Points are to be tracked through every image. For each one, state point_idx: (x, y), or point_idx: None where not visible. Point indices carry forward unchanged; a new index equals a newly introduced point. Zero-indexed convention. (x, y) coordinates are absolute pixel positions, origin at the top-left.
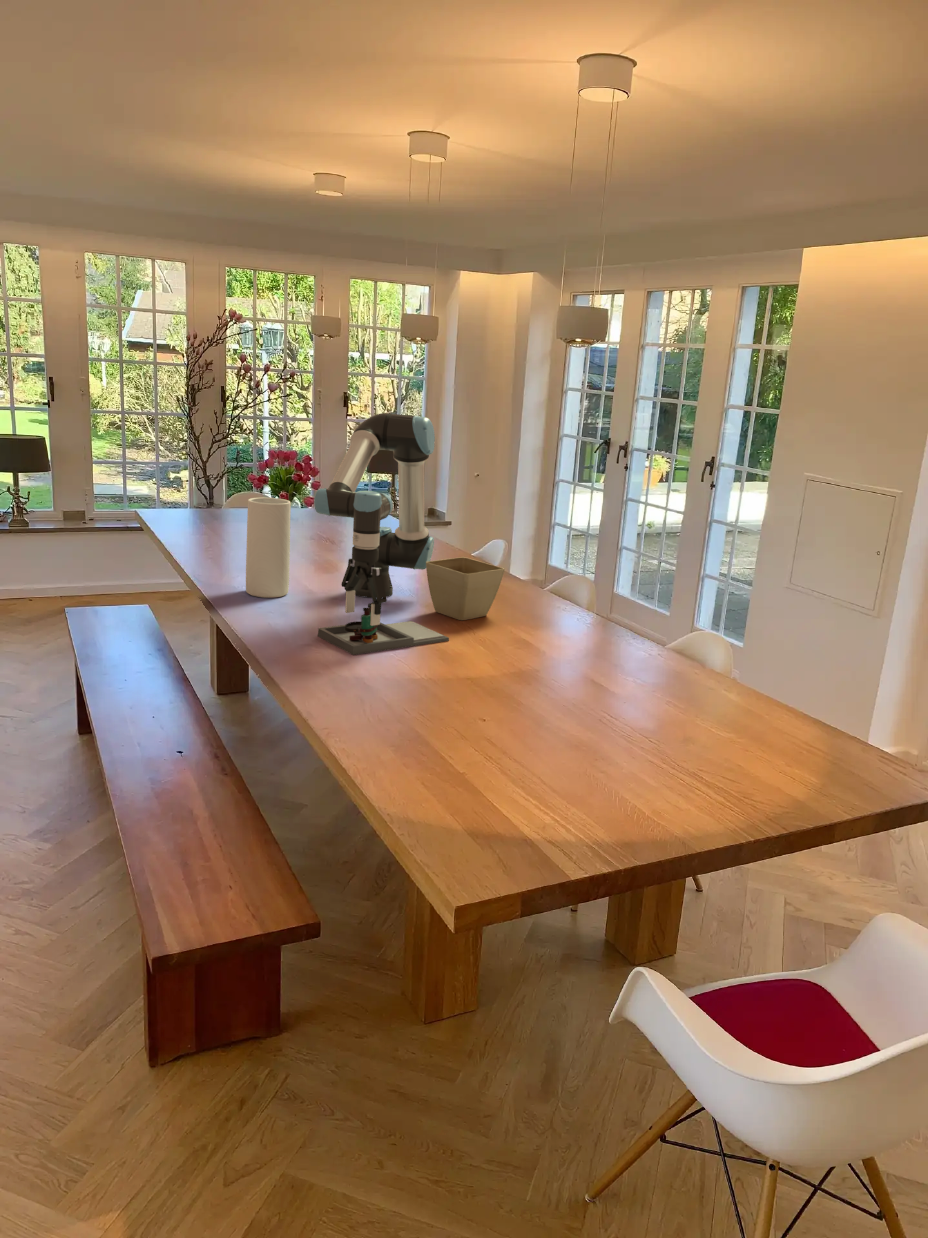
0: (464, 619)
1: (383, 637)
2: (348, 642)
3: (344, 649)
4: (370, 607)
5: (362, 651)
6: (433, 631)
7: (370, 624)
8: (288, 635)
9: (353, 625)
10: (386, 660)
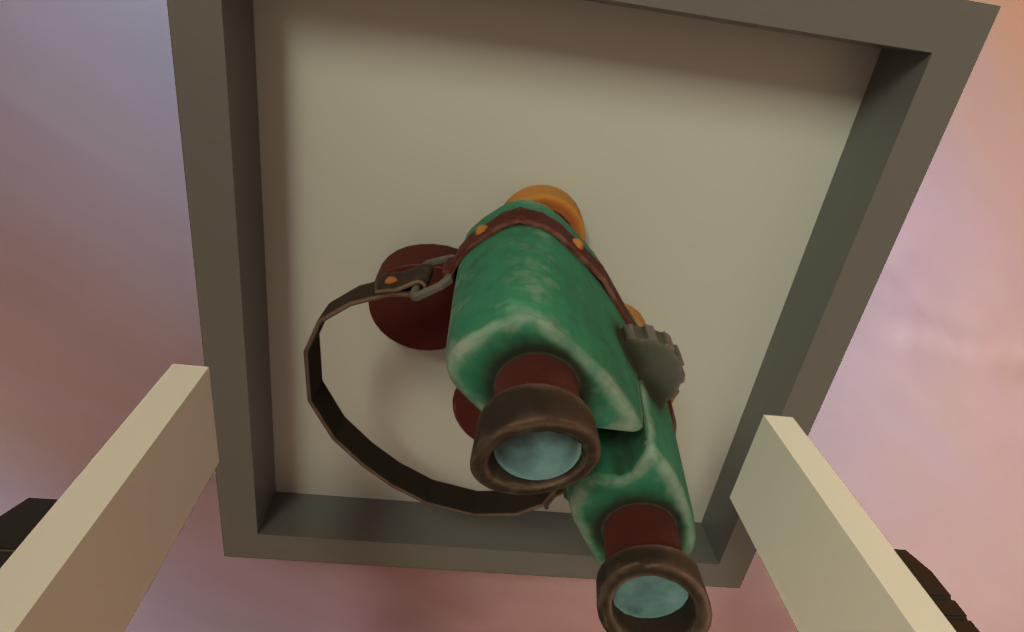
0: None
1: (567, 110)
2: None
3: None
4: (566, 472)
5: None
6: None
7: (734, 503)
8: (160, 620)
9: (241, 267)
10: (942, 442)
